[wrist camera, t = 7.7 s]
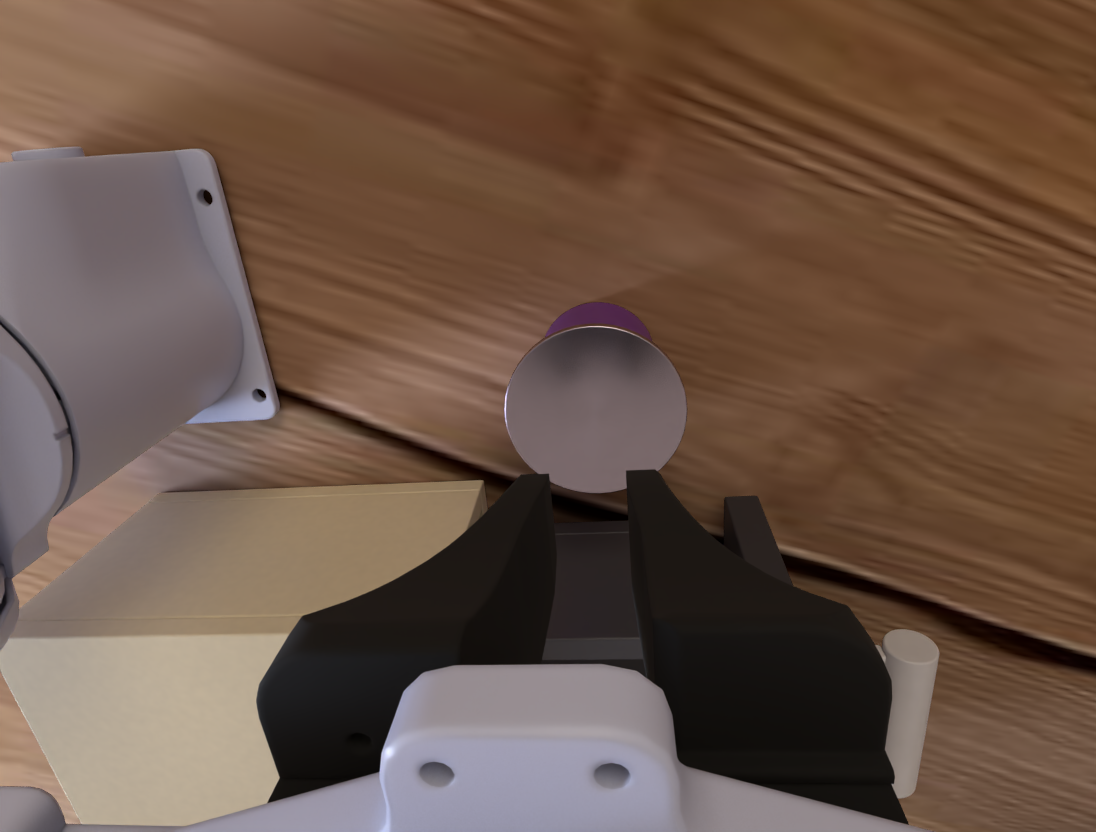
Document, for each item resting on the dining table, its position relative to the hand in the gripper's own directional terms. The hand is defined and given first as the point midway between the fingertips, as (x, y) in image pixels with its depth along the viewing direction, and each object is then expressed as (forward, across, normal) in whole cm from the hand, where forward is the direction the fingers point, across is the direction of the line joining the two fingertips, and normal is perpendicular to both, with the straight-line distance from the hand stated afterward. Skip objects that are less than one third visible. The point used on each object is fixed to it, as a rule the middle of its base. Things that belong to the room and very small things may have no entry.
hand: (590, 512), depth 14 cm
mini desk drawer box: (+10, +12, +12) cm, 19 cm away
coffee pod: (+10, 0, 0) cm, 10 cm away
